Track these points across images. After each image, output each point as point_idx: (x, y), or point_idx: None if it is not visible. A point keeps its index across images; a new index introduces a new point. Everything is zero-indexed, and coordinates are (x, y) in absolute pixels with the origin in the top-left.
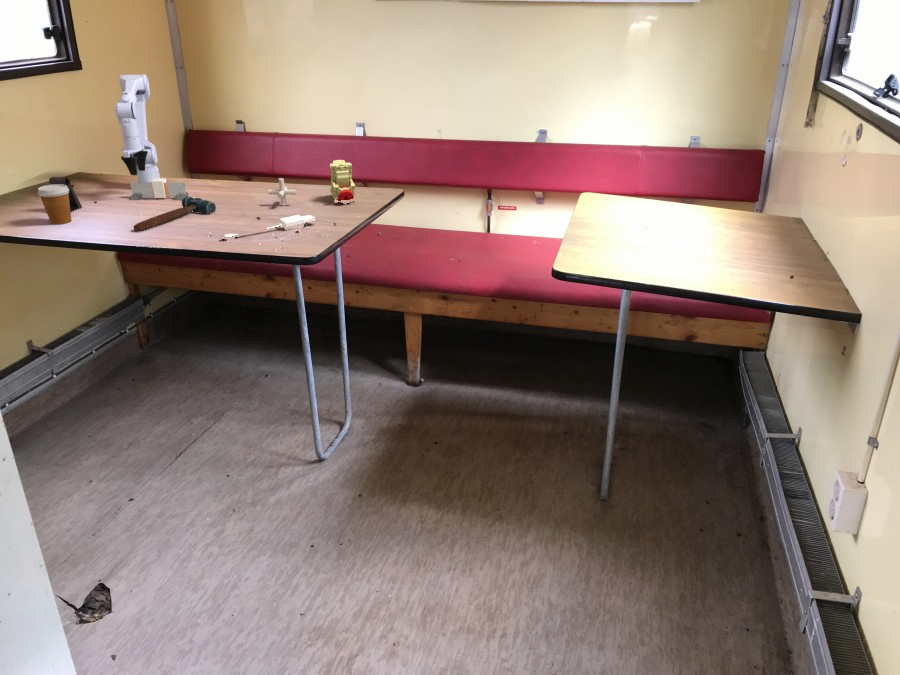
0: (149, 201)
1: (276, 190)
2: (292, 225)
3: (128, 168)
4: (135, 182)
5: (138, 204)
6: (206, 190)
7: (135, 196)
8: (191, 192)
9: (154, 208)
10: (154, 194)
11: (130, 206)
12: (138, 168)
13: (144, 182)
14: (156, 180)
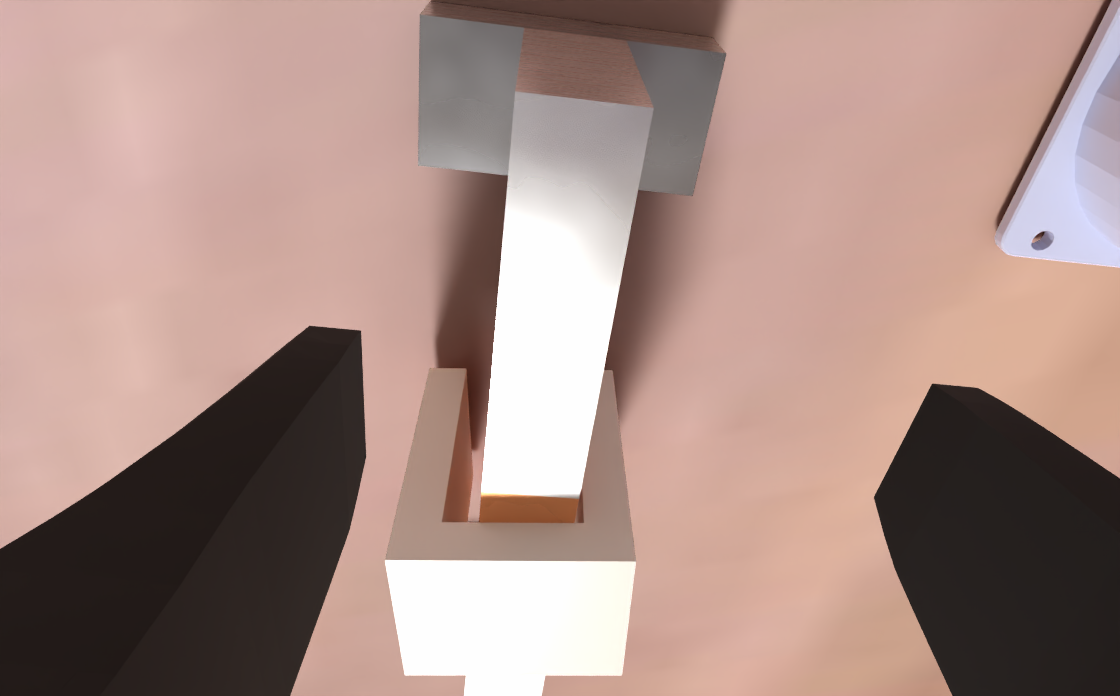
0: (343, 312)
1: None
2: None
3: (153, 468)
4: (550, 215)
5: (161, 210)
6: (779, 688)
7: (421, 115)
8: (733, 609)
9: (28, 438)
10: (421, 409)
11: (19, 121)
12: (969, 420)
13: (533, 387)
14: (466, 604)
